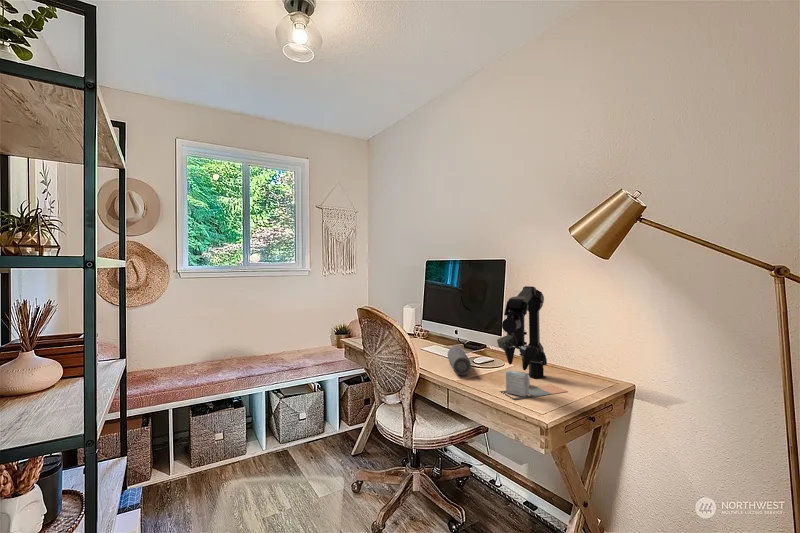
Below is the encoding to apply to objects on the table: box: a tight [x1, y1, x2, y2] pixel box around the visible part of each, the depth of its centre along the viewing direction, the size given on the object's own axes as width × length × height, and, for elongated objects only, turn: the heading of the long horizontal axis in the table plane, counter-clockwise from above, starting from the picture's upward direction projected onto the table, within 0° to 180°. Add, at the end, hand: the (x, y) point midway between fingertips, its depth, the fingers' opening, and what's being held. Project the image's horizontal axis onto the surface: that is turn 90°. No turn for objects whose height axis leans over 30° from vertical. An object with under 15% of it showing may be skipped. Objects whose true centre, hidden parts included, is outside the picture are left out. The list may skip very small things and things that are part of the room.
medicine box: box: [505, 369, 529, 397], centre depth 156 cm, size 8×4×9 cm, turn 48°
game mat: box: [499, 383, 569, 401], centre depth 159 cm, size 10×27×1 cm, turn 110°
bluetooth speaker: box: [447, 346, 472, 376], centre depth 190 cm, size 23×9×10 cm, turn 0°
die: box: [528, 375, 531, 387], centre depth 167 cm, size 5×5×5 cm
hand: (517, 367), depth 156 cm, fingers open, 9 cm apart
